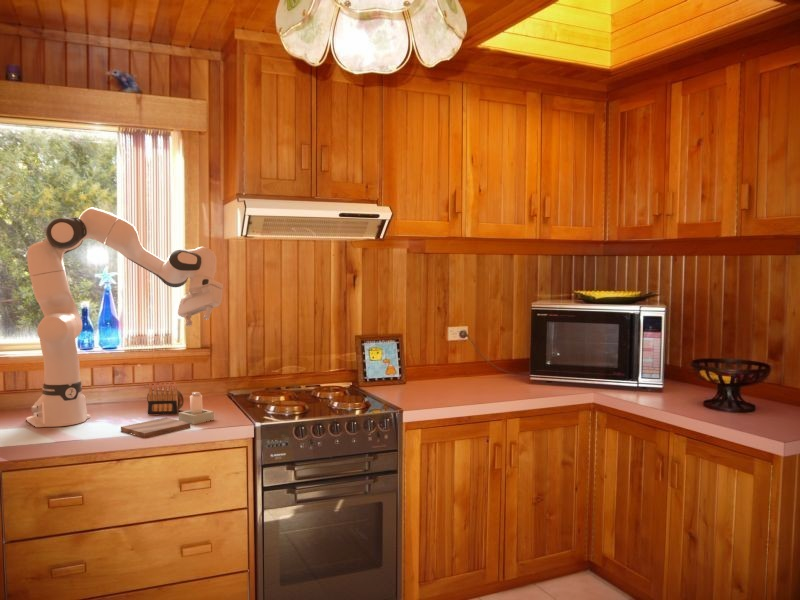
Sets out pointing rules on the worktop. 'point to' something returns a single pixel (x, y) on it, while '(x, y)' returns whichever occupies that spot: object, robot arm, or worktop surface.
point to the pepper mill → (195, 403)
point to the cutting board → (155, 427)
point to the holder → (196, 416)
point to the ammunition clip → (163, 399)
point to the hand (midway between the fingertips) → (197, 322)
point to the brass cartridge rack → (179, 397)
